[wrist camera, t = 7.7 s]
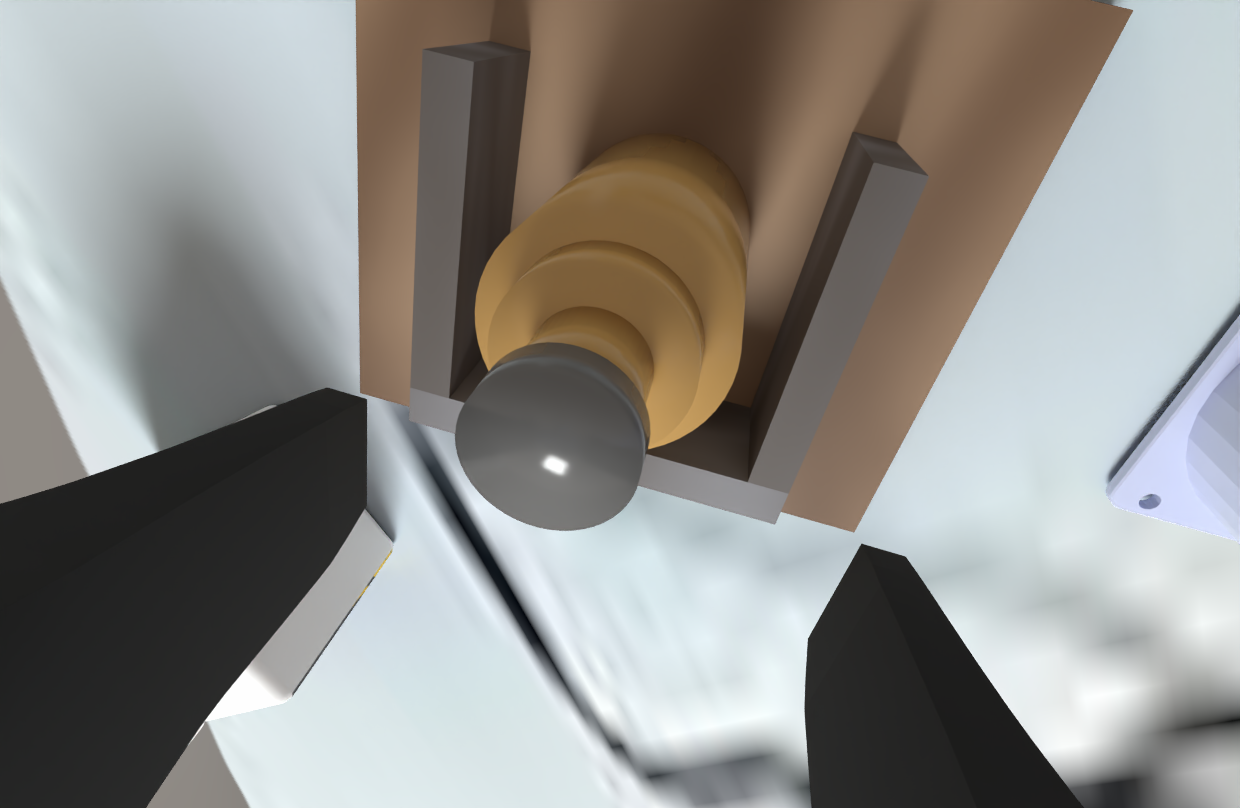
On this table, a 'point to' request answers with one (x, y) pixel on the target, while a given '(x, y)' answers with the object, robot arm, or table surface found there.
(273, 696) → the medicine bottle
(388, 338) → the bottle rest
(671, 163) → the amber bottle
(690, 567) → the table surface
